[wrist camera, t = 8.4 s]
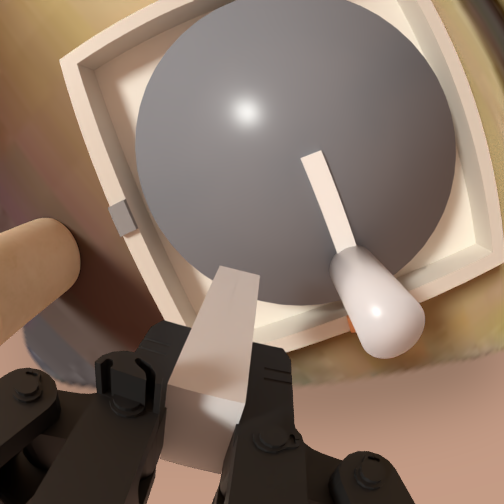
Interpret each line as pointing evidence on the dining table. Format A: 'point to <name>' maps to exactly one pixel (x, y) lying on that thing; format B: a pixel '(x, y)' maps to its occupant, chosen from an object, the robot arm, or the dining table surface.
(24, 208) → the dining table surface
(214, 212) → the dial
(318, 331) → the dial plate
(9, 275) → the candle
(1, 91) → the dining table surface
